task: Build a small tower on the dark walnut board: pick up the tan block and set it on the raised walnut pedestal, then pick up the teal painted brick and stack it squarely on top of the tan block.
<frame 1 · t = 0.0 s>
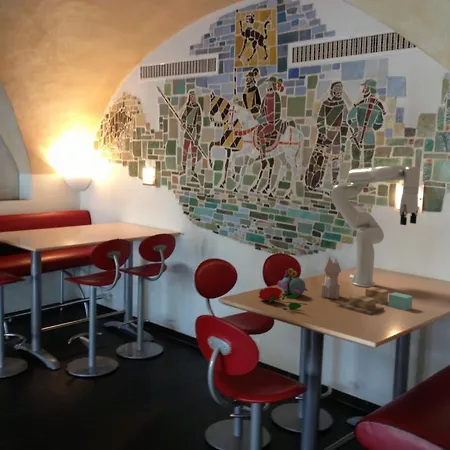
hand: (408, 224, 285), 37 cm above the table, tool pointing down, fingers open, 9 cm apart
toy: (329, 298, 278), on the table
pedestal board: (361, 308, 261), on the table
teal brick: (399, 307, 265), on the table
toy 2: (292, 295, 282), on the table
tan block: (376, 301, 275), on the table
flower: (283, 307, 261), on the table
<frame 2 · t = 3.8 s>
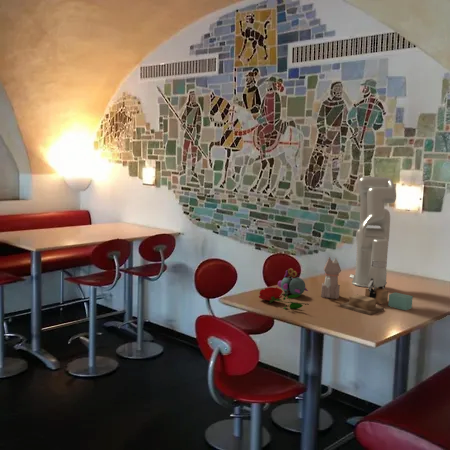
hand: (376, 299, 275), 1 cm above the table, tool pointing down, fingers closed on tan block, 6 cm apart
tan block: (376, 301, 275), on the table, touching gripper
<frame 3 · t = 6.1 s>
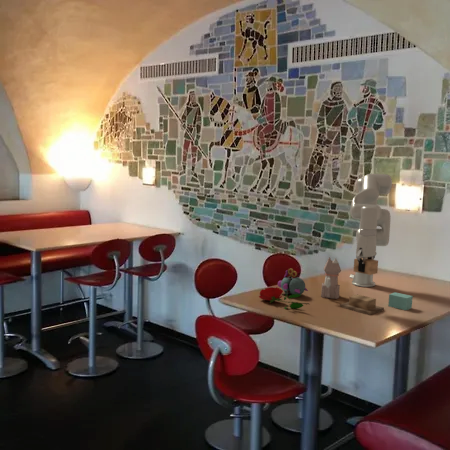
hand: (365, 270, 259), 18 cm above the table, tool pointing down, fingers closed on tan block, 6 cm apart
tan block: (365, 272, 259), point 17 cm above the table, touching gripper
everything else where it was.
when the fingers open (7 cm above the table, at t = 8.6 s): tan block stays where it is, resting on pedestal board.
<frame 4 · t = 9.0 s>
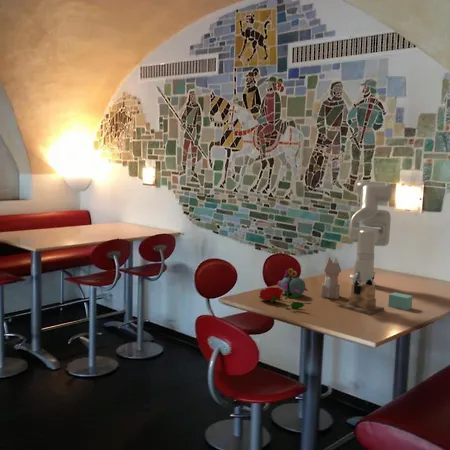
hand: (362, 292, 260), 8 cm above the table, tool pointing down, fingers open, 9 cm apart
tan block: (362, 297, 260), point 5 cm above the table, touching pedestal board
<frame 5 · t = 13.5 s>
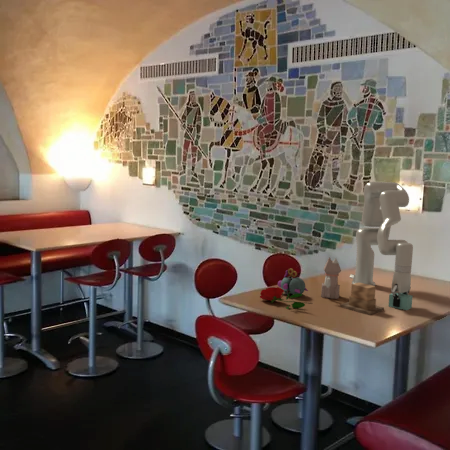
hand: (400, 305, 265), 1 cm above the table, tool pointing down, fingers closed on teal brick, 6 cm apart
teal brick: (400, 307, 265), on the table, touching gripper
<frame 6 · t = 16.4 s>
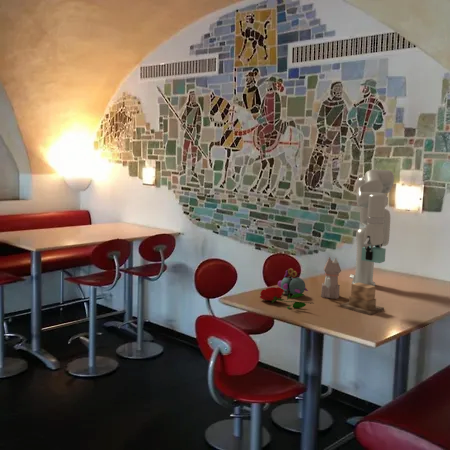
hand: (372, 258, 258), 24 cm above the table, tool pointing down, fingers closed on teal brick, 6 cm apart
teal brick: (373, 260, 259), point 23 cm above the table, touching gripper
when the fingers open (13 cm above the table, at t = 19.1 s): teal brick stays where it is, resting on tan block.
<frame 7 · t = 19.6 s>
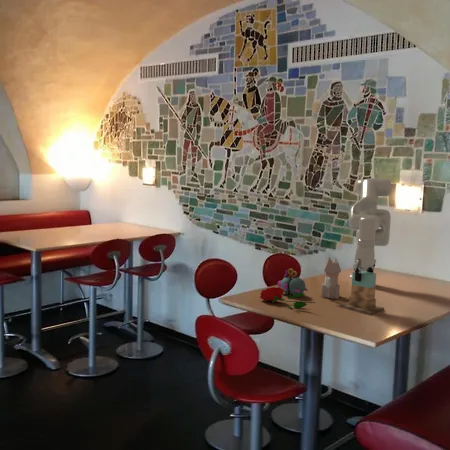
hand: (363, 279, 259), 14 cm above the table, tool pointing down, fingers open, 9 cm apart
teal brick: (363, 285, 260), point 11 cm above the table, touching tan block
tan block: (362, 297, 260), point 5 cm above the table, touching pedestal board, teal brick
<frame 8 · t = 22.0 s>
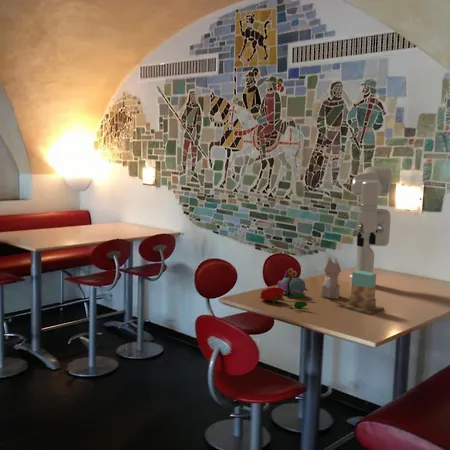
hand: (366, 245, 257), 30 cm above the table, tool pointing down, fingers open, 9 cm apart
at the end: tan block 0.1 cm off-centre on the pedestal board, point 5.2 cm above the pedestal board's base; teal brick 0.1 cm off-centre on the tan block, point 6.0 cm above the tan block's base; teal brick tilted 0° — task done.
